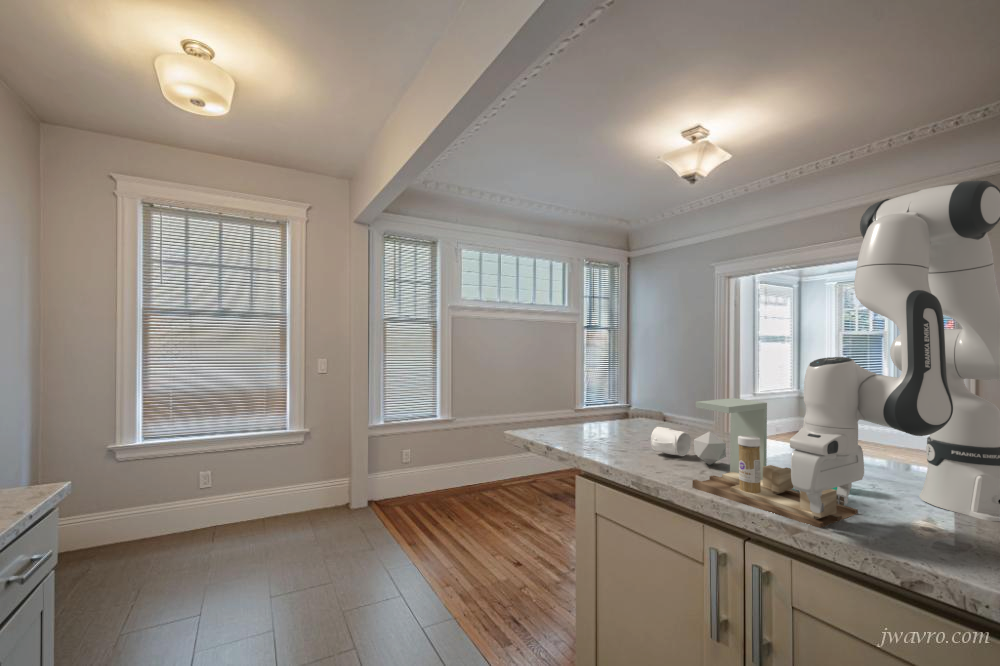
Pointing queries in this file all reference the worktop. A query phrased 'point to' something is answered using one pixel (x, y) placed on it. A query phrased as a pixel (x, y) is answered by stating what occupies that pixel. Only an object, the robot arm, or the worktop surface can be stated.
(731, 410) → the shelf
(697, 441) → the die
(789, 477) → the wooden slider block
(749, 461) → the sprinkles bottle
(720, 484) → the lane board
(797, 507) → the bottle strip
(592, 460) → the worktop surface
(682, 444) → the mug
